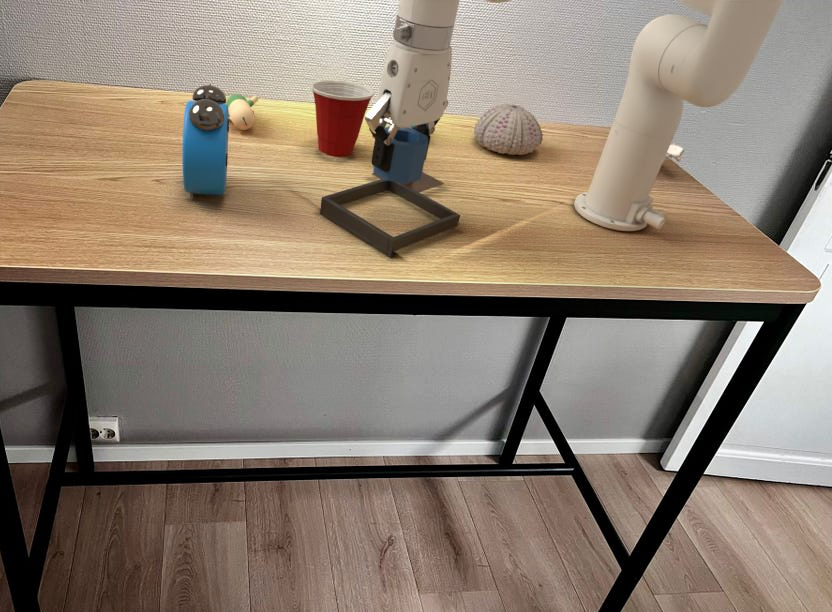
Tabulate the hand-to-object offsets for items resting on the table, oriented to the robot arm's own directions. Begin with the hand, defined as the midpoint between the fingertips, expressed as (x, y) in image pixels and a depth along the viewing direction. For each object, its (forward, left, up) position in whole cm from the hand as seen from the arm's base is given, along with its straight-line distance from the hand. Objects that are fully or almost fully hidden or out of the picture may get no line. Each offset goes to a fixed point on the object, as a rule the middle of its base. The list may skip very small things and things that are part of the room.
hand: (398, 162), depth 105 cm
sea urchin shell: (+10, -44, -10) cm, 46 cm away
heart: (-10, -64, -10) cm, 66 cm away
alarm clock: (+22, +18, -10) cm, 30 cm away
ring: (0, 0, -2) cm, 2 cm away
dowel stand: (+8, -13, -10) cm, 18 cm away
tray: (0, 0, -10) cm, 10 cm away
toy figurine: (+42, -3, -10) cm, 43 cm away
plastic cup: (+23, -10, -10) cm, 27 cm away
